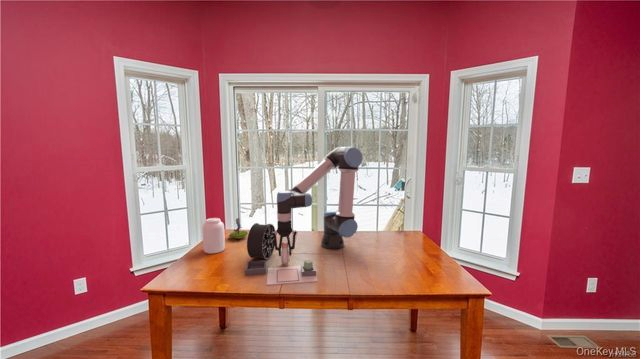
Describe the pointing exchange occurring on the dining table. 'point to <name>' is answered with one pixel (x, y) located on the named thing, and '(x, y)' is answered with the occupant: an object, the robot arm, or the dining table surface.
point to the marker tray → (255, 268)
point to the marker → (284, 253)
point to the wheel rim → (261, 241)
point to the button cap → (308, 265)
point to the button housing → (308, 272)
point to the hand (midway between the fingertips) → (285, 261)
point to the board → (287, 276)
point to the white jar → (213, 236)
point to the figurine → (239, 233)
